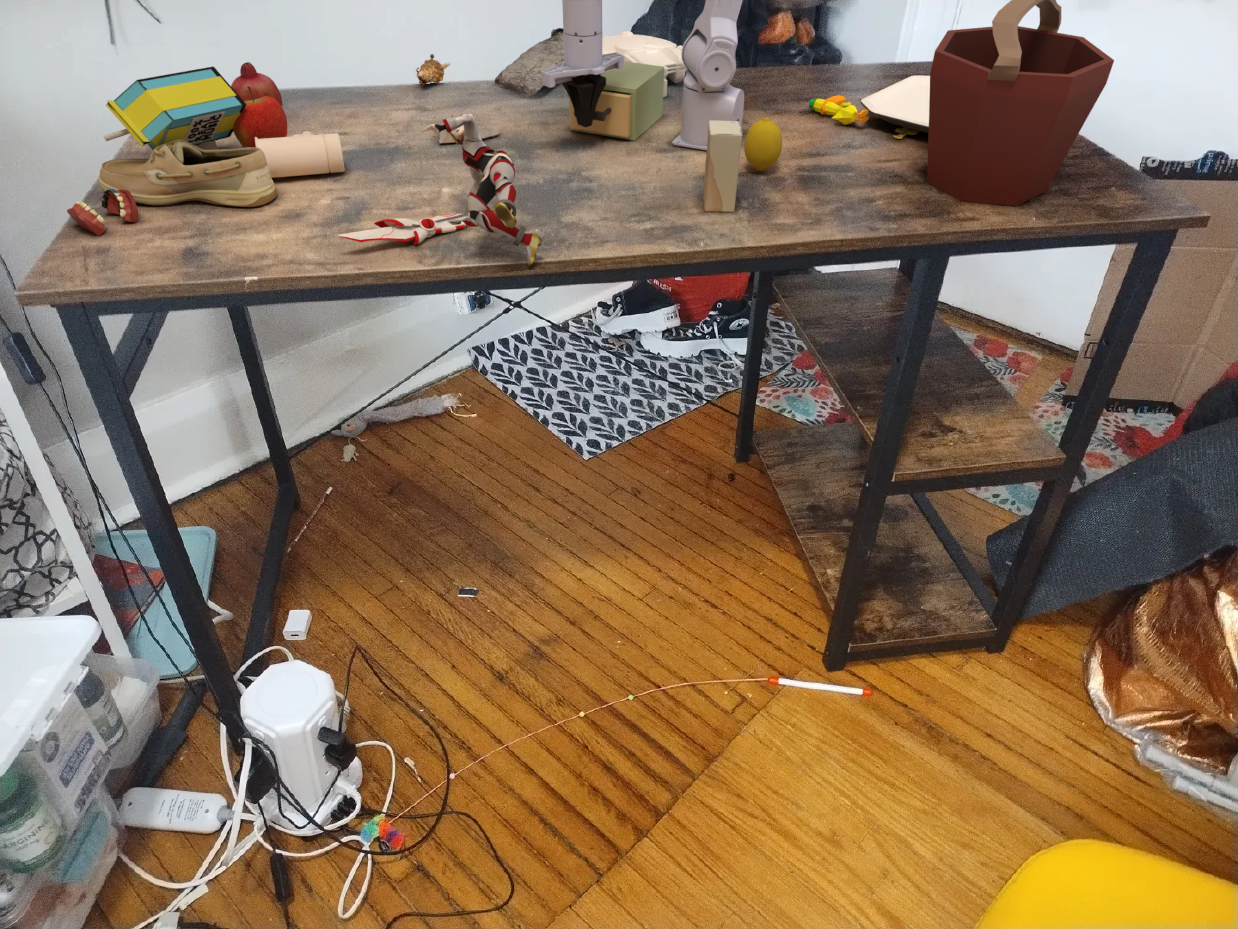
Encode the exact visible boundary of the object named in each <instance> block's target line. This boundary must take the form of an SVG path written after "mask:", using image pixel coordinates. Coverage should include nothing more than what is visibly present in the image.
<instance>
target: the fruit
mask: <svg viewBox="0 0 1238 929" xmlns="http://www.w3.org/2000/svg"><path fill="white" fill-rule="evenodd" d="M230 86H231V87H232V88H233V89H234V90H235V92H236V93H237V94H238V95H239V96H240V97H241V99H242V100H243V101H250V100H253V99H254V100H255V99H259V98H262V97H264V96H270V97H273V98H274V99H276V100H277V101H278V102H279V104H280V105H281V107H282V108H283V98H282V95H281V92H280V90H279V88H278V86H277V84H276V82H275V81H274V80H273V79H272V78H271V77H269V76H268V75H266V74H263V73H261V72H257V70H256V68H255V66H254V65H253V64H252V63H251V62H249V61H247V62H243V64H241V66H240V75H239V76H237V77H236V78H234V80H233V81H232V83H231V84H230ZM247 86H248V87H250V88H251V92H252V96H253V99H252V96H251V93H250V91H249V89H248V88H247Z"/></svg>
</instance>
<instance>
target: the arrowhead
mask: <svg viewBox="0 0 1238 929" xmlns="http://www.w3.org/2000/svg"><path fill="white" fill-rule="evenodd" d="M476 128H477V130H478V133H479V135H480V137H481V139H487V138H490V137H495V136H498V135H499V132H500V130H499V129H491V128H480V127H476ZM438 143H439V144H450V143H456V142H455V140H454V141H453V138H452V137H451V135H450V134H449V133H448V132H447V131H446V129H445V130H443V131H441V132H440V133H439V140H438Z"/></svg>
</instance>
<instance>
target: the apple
mask: <svg viewBox="0 0 1238 929" xmlns="http://www.w3.org/2000/svg"><path fill="white" fill-rule="evenodd" d="M247 88H248V89H249V91H250V93H251V96H252V92H251V88H250V87H248V86H247ZM252 99H253V96H252ZM244 102H245V103H246V106H245V108H244V110H243V112H242V113H241V114H240V115H239V117H238V118H237V119H236V121H235V123H234V127H233V132H232V133H233V134H234V136H235V138H236V139H237V141H238V142H239V144H240V145H241V146H242V148H248V147H256V144H255V137H257V138H258V139H265V138H279V137H288V120H287V116H286V113H285V110H284V108H283V106H282V107H281V105H280V104H279V102H278V101H277V100H276V99H274V98H273V97H270V96H264V97H262V98H259V99H255V100H254V99H253V100H250V101H244Z"/></svg>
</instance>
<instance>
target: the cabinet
mask: <svg viewBox="0 0 1238 929" xmlns="http://www.w3.org/2000/svg"><path fill="white" fill-rule="evenodd" d="M601 76H603V77H605V78H606V86H605V87H604V89H603V90H610V91H616V92H623V93H630V94H631V135H630V136H629V137H622V136H616V135H610V134H603V133H597V132H591V131H585V130H579V129H573V128H570V131H574V132H581V133H587V134H592V135H599V136H604V137H611V138H616V139H622V140H629V141H636V140H638V138H640V137H641V135H643V134H644V133H645V132H646V131H647V130H648V129H649V128H651V127H652V126H653V125H654V124H655V123H657V122H658V120H660V119H661V118H662V117H663V114H664V113H663V111H664V97H663V89H664V67H662V66H655V65H648V64H640V63H633V62H626V61H624V68H622V69H616V68H615V69H612V70H608V71H605V73H602V74H601Z"/></svg>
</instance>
